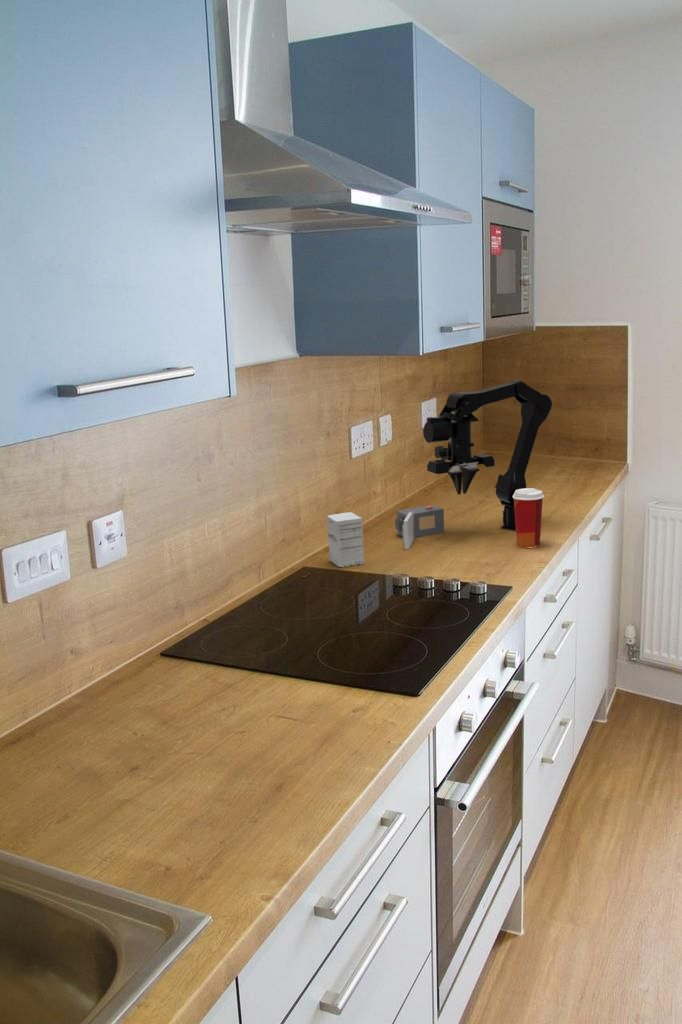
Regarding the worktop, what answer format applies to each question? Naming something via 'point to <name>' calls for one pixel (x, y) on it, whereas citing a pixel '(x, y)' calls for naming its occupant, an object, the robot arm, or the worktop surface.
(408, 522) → the side door
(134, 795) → the worktop surface
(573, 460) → the worktop surface
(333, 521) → the supplement box
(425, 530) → the box
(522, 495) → the coffee cup
